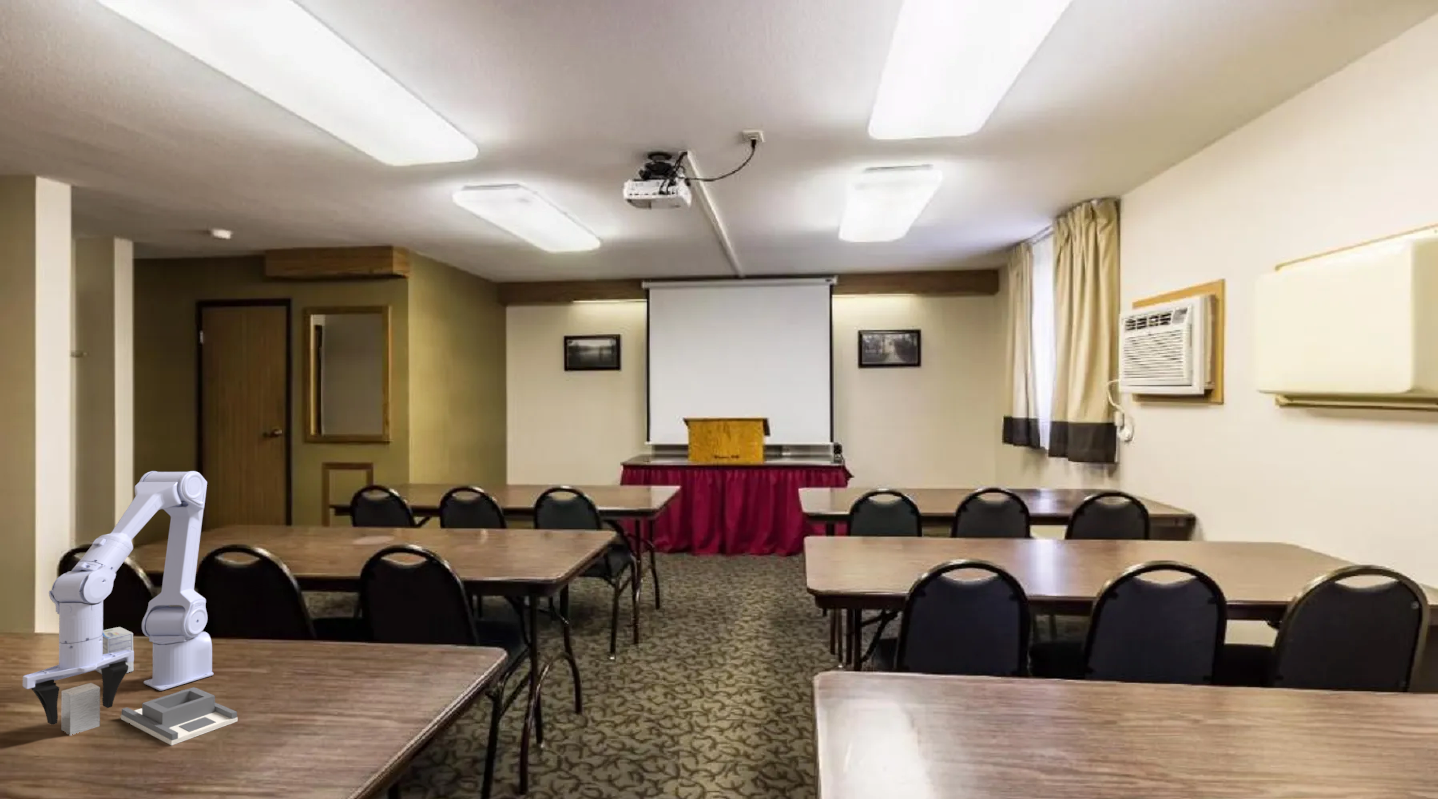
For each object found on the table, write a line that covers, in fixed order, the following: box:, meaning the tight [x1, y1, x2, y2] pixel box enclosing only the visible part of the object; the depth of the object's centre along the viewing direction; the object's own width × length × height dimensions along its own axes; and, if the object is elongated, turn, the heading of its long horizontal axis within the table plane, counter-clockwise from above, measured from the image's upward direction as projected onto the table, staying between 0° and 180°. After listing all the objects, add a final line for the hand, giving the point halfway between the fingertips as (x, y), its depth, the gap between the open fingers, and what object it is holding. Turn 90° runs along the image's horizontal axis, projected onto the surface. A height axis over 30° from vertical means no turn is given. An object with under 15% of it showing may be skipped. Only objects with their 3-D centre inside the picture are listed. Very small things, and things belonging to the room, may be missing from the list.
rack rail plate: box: [120, 687, 239, 746], centre depth 123 cm, size 10×20×4 cm, turn 60°
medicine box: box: [95, 626, 134, 675], centre depth 146 cm, size 8×4×9 cm, turn 58°
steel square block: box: [60, 682, 101, 736], centre depth 120 cm, size 4×4×7 cm
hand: (80, 714), depth 120 cm, fingers open, 7 cm apart
